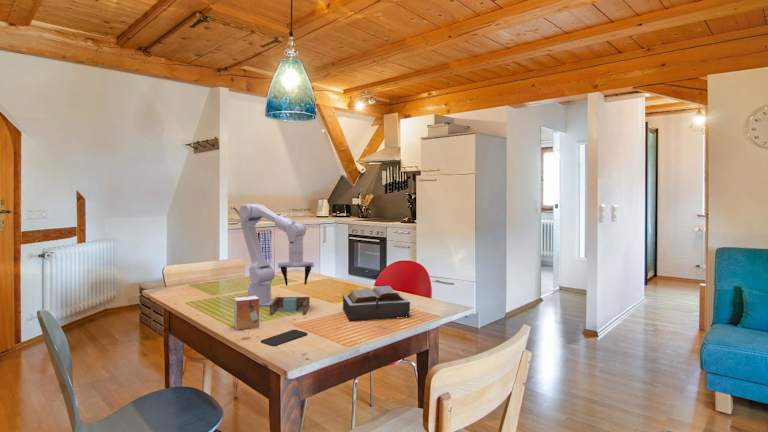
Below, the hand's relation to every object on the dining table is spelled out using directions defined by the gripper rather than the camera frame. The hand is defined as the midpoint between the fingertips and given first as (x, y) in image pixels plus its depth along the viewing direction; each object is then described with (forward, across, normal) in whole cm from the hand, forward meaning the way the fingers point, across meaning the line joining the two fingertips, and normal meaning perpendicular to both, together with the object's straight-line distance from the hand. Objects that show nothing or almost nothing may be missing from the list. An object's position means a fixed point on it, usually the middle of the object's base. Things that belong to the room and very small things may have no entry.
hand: (296, 284), depth 181 cm
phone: (+11, -4, -36) cm, 38 cm away
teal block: (+10, -2, -1) cm, 11 cm away
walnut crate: (+10, -2, -1) cm, 11 cm away
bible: (+11, +31, -12) cm, 35 cm away
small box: (+10, -18, -21) cm, 29 cm away
